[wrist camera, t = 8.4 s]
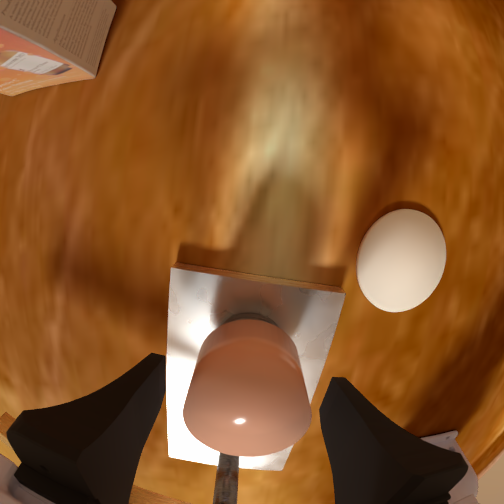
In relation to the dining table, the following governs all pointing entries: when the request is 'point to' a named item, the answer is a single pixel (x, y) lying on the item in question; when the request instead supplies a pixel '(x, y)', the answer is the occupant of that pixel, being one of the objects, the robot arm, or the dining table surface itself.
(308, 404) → the cap
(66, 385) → the dining table surface
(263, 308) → the plate
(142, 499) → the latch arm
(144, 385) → the robot arm
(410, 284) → the coaster
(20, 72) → the small box
